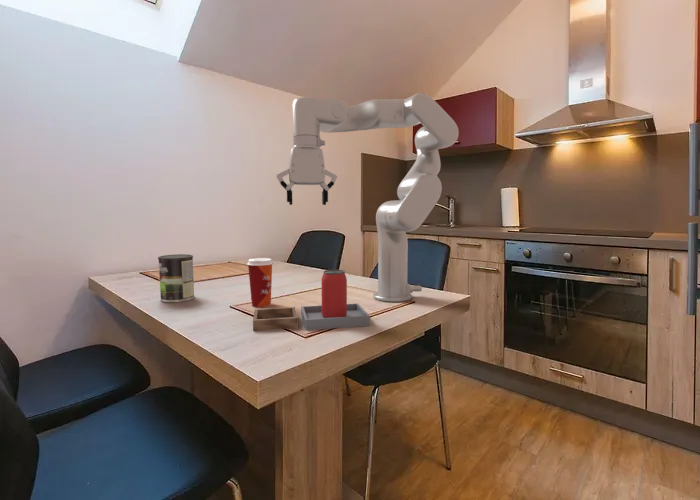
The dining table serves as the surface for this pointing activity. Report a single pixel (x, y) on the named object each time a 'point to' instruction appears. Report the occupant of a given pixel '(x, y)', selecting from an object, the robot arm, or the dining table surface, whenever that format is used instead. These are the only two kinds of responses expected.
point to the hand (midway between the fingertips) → (307, 204)
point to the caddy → (275, 318)
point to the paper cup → (260, 281)
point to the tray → (317, 321)
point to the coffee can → (176, 278)
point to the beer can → (334, 294)
